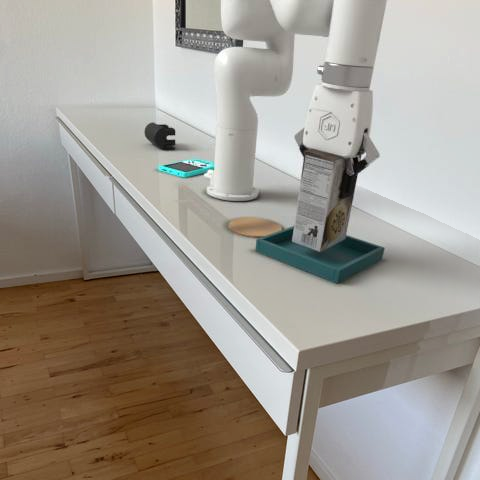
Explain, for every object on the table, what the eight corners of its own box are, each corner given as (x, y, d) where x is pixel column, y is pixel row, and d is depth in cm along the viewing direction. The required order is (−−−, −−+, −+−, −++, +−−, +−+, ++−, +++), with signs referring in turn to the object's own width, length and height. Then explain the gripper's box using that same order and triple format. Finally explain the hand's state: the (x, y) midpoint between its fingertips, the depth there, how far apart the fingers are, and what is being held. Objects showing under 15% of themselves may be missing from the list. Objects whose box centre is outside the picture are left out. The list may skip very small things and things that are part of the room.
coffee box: (316, 229, 97) (331, 142, 89) (346, 239, 94) (364, 150, 85) (290, 241, 91) (303, 149, 82) (320, 252, 87) (337, 157, 79)
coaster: (217, 225, 103) (217, 224, 103) (252, 215, 110) (252, 214, 110) (258, 241, 97) (258, 240, 97) (292, 229, 104) (292, 228, 104)
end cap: (144, 144, 166) (143, 122, 163) (164, 143, 170) (164, 122, 166) (154, 150, 159) (154, 127, 156) (175, 150, 162) (176, 127, 159)
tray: (255, 251, 92) (256, 238, 91) (304, 232, 103) (305, 221, 102) (337, 283, 83) (339, 270, 82) (382, 259, 93) (384, 247, 92)
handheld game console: (222, 168, 145) (222, 164, 144) (184, 178, 133) (185, 172, 132) (196, 162, 150) (196, 157, 149) (157, 170, 138) (157, 165, 137)
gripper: (287, 70, 80) (274, 182, 90) (385, 86, 71) (360, 209, 80) (314, 70, 85) (299, 176, 95) (409, 85, 76) (382, 200, 85)
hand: (327, 190), depth 87 cm, fingers closed on coffee box, 6 cm apart
